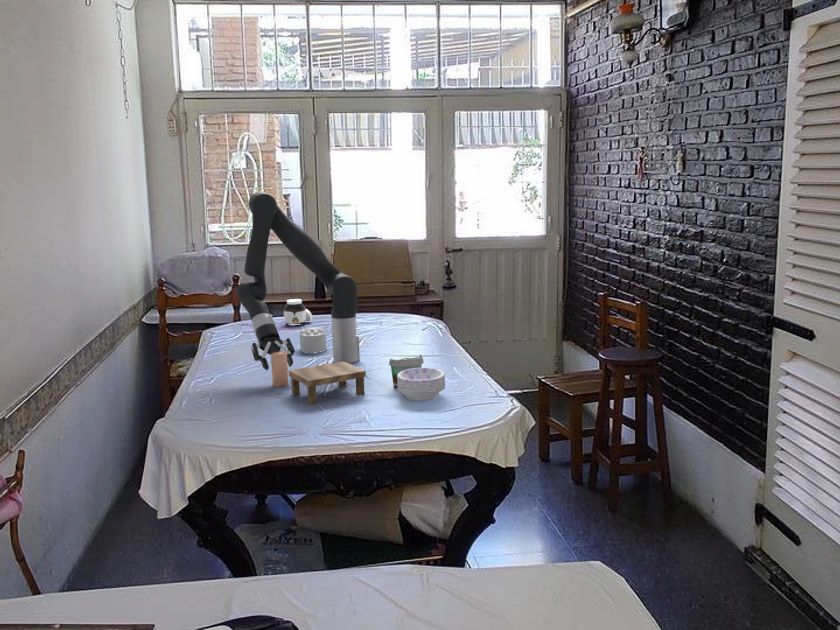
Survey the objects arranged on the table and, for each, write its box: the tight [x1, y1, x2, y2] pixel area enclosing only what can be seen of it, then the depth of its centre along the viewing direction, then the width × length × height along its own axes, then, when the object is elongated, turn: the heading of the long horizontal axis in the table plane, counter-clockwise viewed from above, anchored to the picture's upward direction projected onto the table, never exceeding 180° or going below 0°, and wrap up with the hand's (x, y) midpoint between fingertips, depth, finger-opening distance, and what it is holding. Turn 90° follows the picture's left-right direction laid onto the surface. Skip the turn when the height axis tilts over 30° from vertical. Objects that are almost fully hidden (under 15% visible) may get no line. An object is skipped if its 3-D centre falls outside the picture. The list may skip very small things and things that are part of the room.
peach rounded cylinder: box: [270, 350, 289, 388], centre depth 277 cm, size 5×5×11 cm
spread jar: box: [283, 298, 313, 325], centre depth 382 cm, size 12×11×12 cm
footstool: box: [288, 361, 367, 406], centre depth 264 cm, size 20×16×8 cm
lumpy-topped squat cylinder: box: [299, 326, 327, 354], centre depth 328 cm, size 10×13×9 cm
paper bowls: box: [397, 367, 446, 402], centre depth 259 cm, size 15×15×8 cm
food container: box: [388, 354, 425, 390], centre depth 270 cm, size 12×6×10 cm, turn 117°
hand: (279, 367), depth 277 cm, fingers open, 8 cm apart
